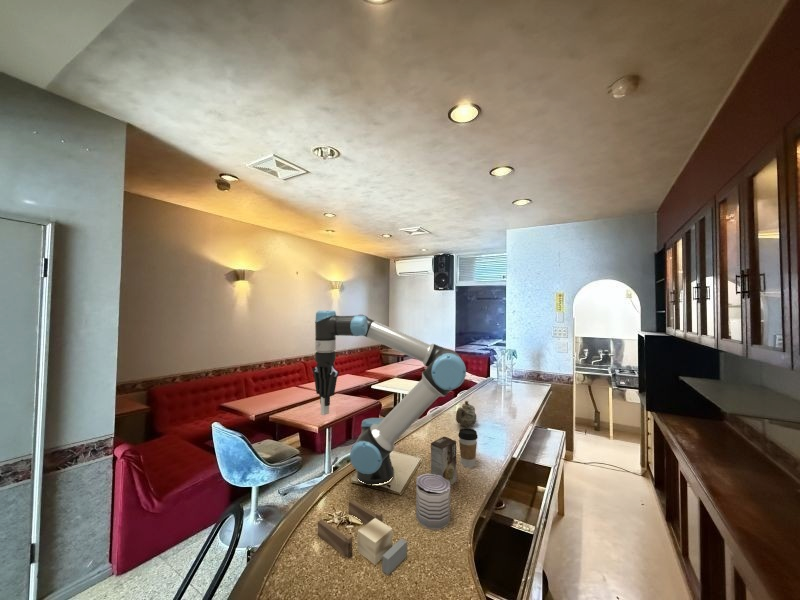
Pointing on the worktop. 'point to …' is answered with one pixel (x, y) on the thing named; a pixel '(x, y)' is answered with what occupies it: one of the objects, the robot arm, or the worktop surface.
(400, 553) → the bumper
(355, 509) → the chute
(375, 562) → the block
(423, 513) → the can
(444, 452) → the coffee box
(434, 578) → the worktop surface
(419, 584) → the worktop surface
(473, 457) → the coffee cup
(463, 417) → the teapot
